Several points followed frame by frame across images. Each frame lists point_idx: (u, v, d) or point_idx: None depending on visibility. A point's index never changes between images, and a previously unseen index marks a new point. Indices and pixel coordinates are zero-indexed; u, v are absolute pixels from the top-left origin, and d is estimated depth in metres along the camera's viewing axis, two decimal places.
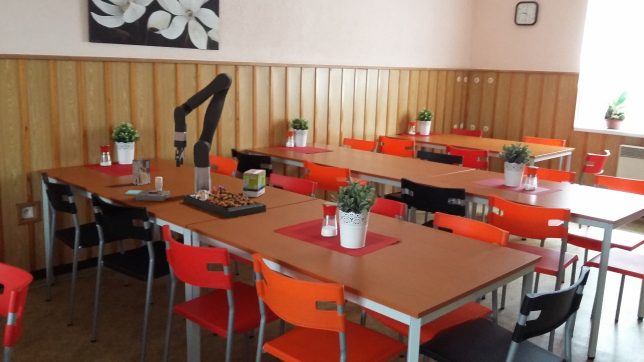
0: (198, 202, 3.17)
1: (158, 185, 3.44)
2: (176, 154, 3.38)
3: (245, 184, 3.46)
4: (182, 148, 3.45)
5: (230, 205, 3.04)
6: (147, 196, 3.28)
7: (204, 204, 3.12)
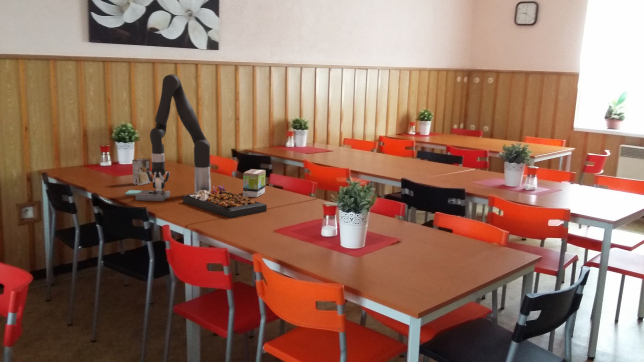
0: (198, 202, 3.16)
1: (158, 185, 3.44)
2: (168, 176, 3.45)
3: (245, 184, 3.46)
4: None
5: (231, 205, 3.04)
6: (147, 196, 3.28)
7: (205, 204, 3.12)
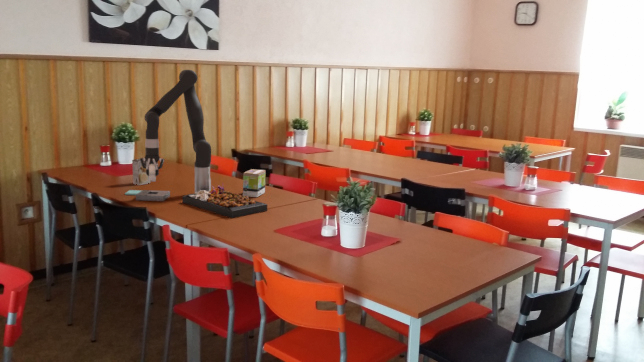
0: (199, 202, 3.16)
1: (152, 172, 3.31)
2: (162, 163, 3.31)
3: (245, 184, 3.46)
4: None
5: (232, 205, 3.05)
6: (147, 196, 3.28)
7: (205, 204, 3.12)
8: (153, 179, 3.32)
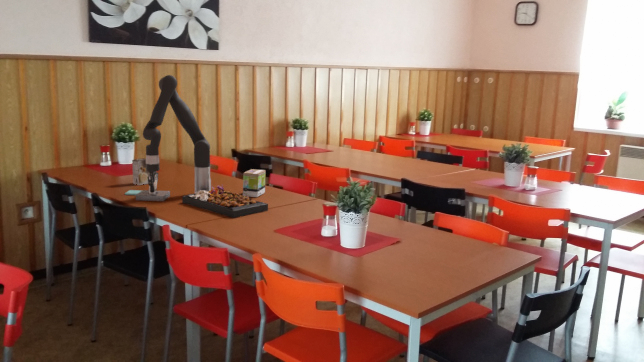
0: (199, 202, 3.16)
1: None
2: None
3: (245, 184, 3.46)
4: None
5: (233, 205, 3.05)
6: (147, 196, 3.28)
7: (206, 204, 3.12)
8: None
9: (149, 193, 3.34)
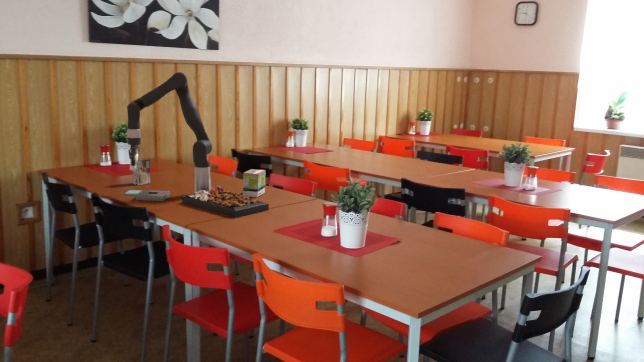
0: (199, 202, 3.16)
1: (137, 161, 3.41)
2: None
3: (245, 184, 3.46)
4: None
5: (235, 204, 3.05)
6: (147, 196, 3.28)
7: (206, 204, 3.12)
8: None
9: (130, 166, 3.40)
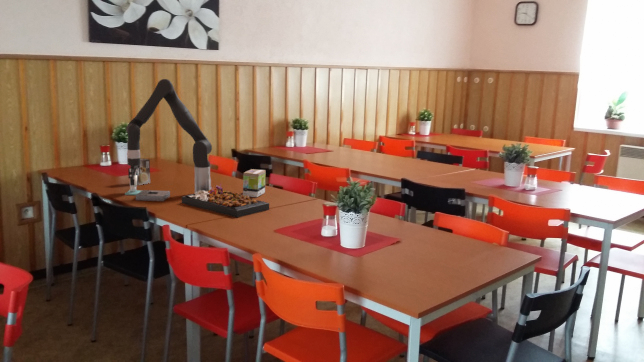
0: (200, 203, 3.16)
1: (136, 183, 3.44)
2: None
3: (245, 184, 3.46)
4: None
5: (236, 204, 3.06)
6: (147, 196, 3.28)
7: (207, 204, 3.12)
8: None
9: (130, 188, 3.43)
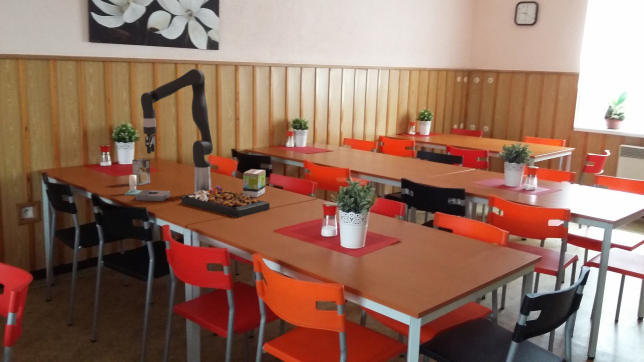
0: (200, 203, 3.15)
1: (136, 183, 3.44)
2: None
3: (245, 184, 3.46)
4: None
5: (237, 204, 3.06)
6: (147, 196, 3.28)
7: (208, 204, 3.12)
8: None
9: (130, 188, 3.44)
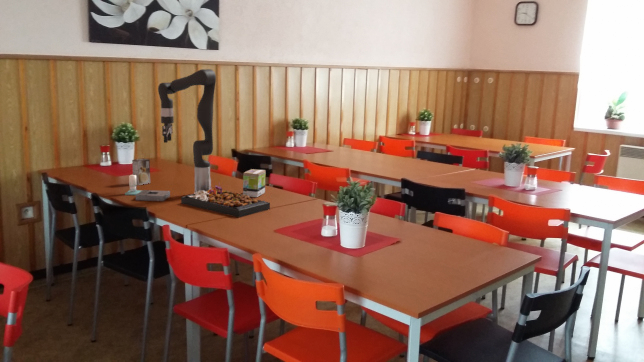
0: (200, 203, 3.15)
1: (136, 183, 3.44)
2: None
3: (245, 184, 3.46)
4: None
5: (237, 204, 3.06)
6: (147, 196, 3.28)
7: (208, 204, 3.12)
8: None
9: (130, 188, 3.43)
